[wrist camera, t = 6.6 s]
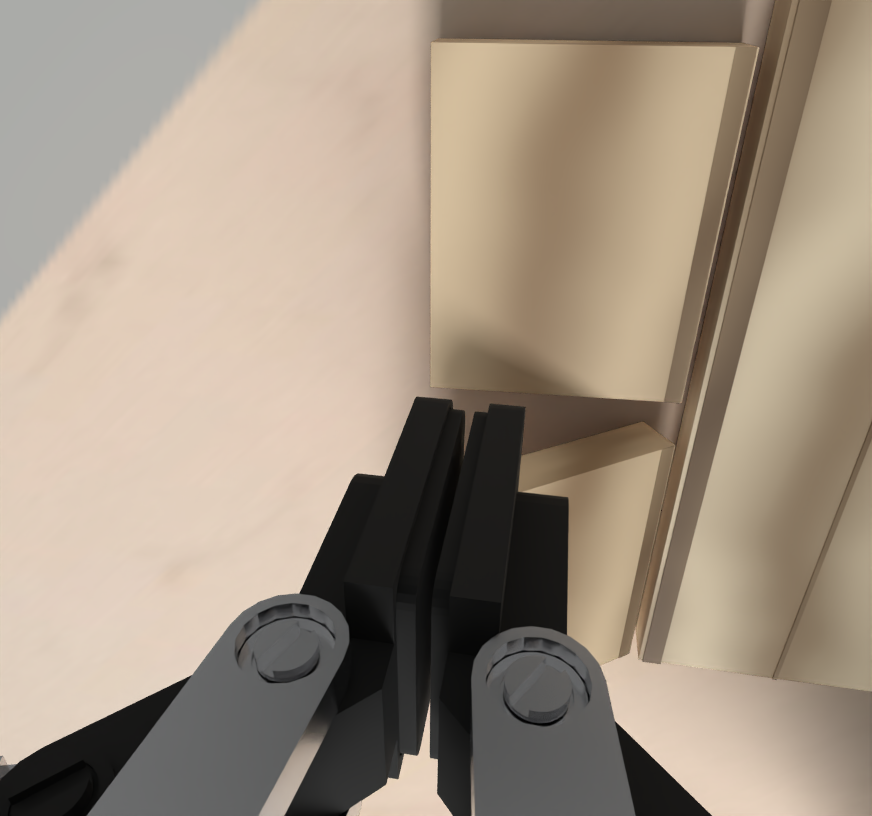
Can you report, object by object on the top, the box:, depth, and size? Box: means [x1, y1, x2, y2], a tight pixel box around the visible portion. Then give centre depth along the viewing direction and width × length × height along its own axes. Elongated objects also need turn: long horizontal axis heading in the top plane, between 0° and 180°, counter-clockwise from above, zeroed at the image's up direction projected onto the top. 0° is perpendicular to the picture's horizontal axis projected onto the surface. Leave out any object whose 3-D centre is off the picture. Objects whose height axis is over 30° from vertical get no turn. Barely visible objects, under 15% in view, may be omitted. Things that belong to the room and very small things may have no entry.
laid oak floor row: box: [636, 0, 872, 692], centre depth 22 cm, size 10×23×2 cm, turn 179°
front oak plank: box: [430, 38, 759, 403], centre depth 21 cm, size 8×10×2 cm
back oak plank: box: [518, 422, 675, 665], centre depth 24 cm, size 8×10×2 cm
